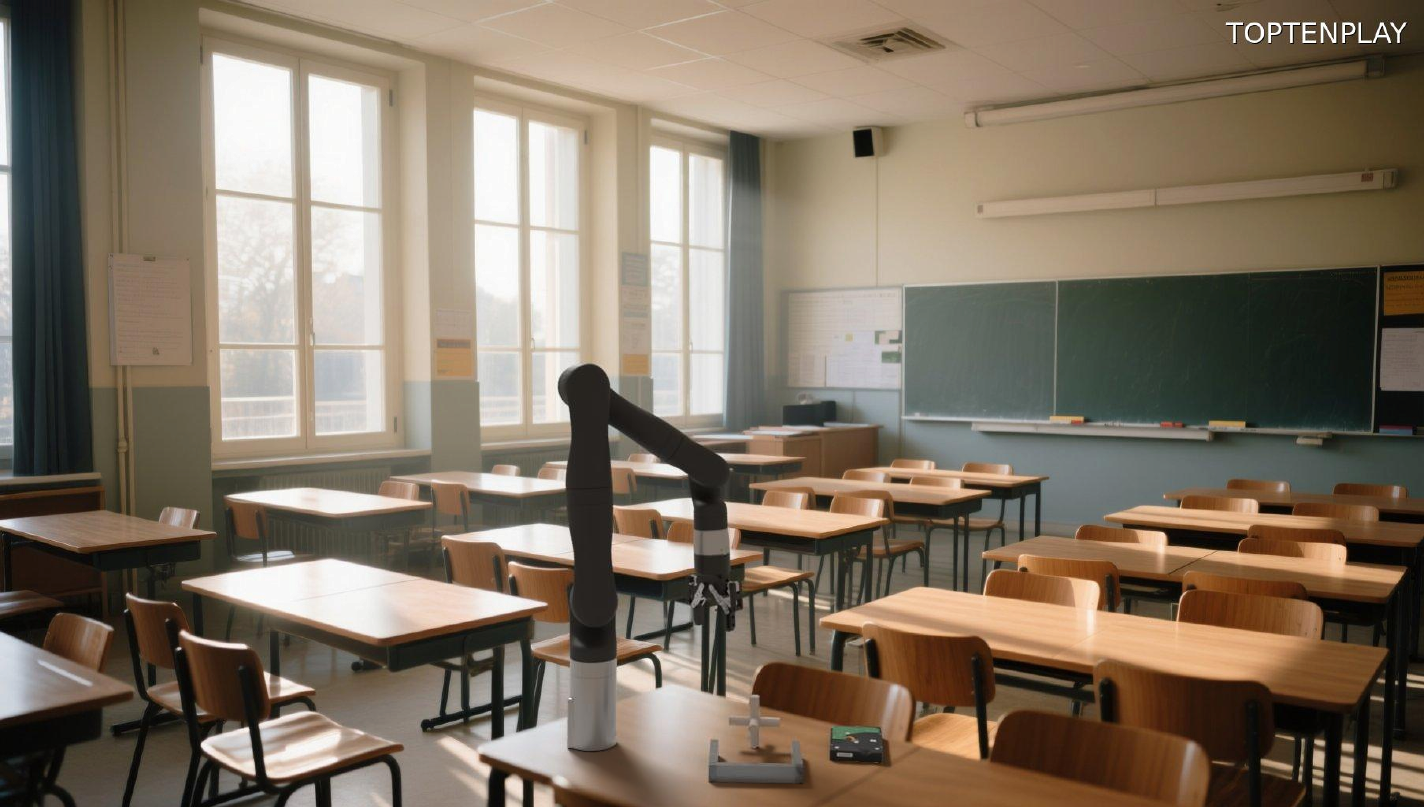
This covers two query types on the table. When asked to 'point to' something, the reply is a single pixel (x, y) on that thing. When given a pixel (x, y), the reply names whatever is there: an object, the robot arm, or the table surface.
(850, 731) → the disk drive
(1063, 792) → the table surface
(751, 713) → the pipe connector
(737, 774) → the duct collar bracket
